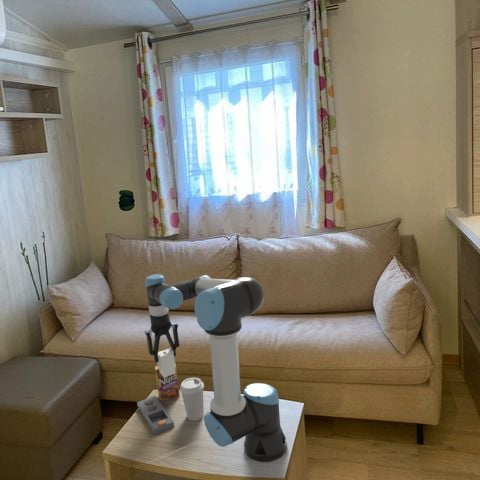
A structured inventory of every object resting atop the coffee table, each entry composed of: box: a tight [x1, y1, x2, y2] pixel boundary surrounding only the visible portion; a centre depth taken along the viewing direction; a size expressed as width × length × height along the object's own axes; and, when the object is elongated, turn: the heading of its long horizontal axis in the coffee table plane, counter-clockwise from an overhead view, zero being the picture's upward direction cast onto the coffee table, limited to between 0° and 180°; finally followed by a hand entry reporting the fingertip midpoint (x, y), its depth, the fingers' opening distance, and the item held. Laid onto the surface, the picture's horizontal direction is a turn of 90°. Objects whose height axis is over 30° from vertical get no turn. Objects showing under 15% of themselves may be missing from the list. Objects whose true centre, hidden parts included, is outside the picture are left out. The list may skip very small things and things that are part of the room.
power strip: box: [136, 395, 175, 435], centre depth 186 cm, size 22×8×3 cm, turn 28°
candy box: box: [154, 363, 180, 402], centre depth 198 cm, size 9×4×15 cm, turn 102°
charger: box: [158, 348, 175, 377], centre depth 188 cm, size 5×5×9 cm
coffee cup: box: [179, 377, 205, 422], centre depth 183 cm, size 10×10×15 cm
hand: (166, 366), depth 189 cm, fingers closed on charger, 5 cm apart
